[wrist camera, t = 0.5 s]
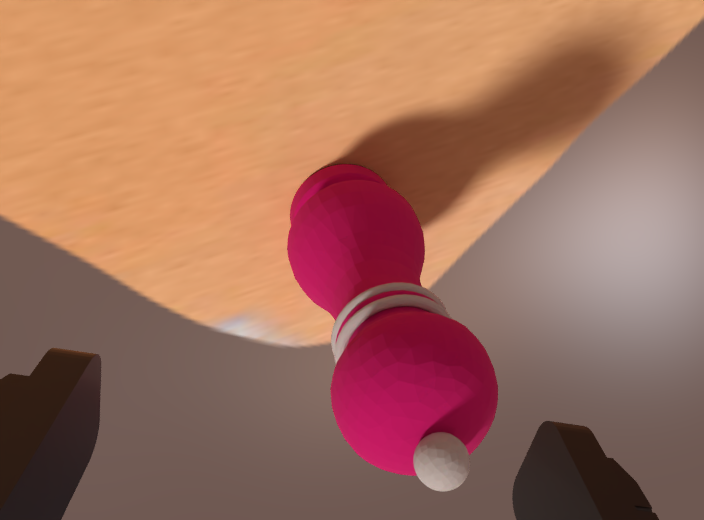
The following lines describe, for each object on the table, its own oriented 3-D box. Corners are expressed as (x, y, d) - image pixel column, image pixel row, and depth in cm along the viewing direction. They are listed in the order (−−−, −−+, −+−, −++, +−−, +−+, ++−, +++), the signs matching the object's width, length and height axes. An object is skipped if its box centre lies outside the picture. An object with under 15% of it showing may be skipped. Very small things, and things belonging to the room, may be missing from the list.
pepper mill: (305, 137, 32) (390, 370, 15) (419, 175, 35) (606, 414, 17) (265, 249, 35) (298, 551, 18) (373, 277, 37) (495, 568, 20)
